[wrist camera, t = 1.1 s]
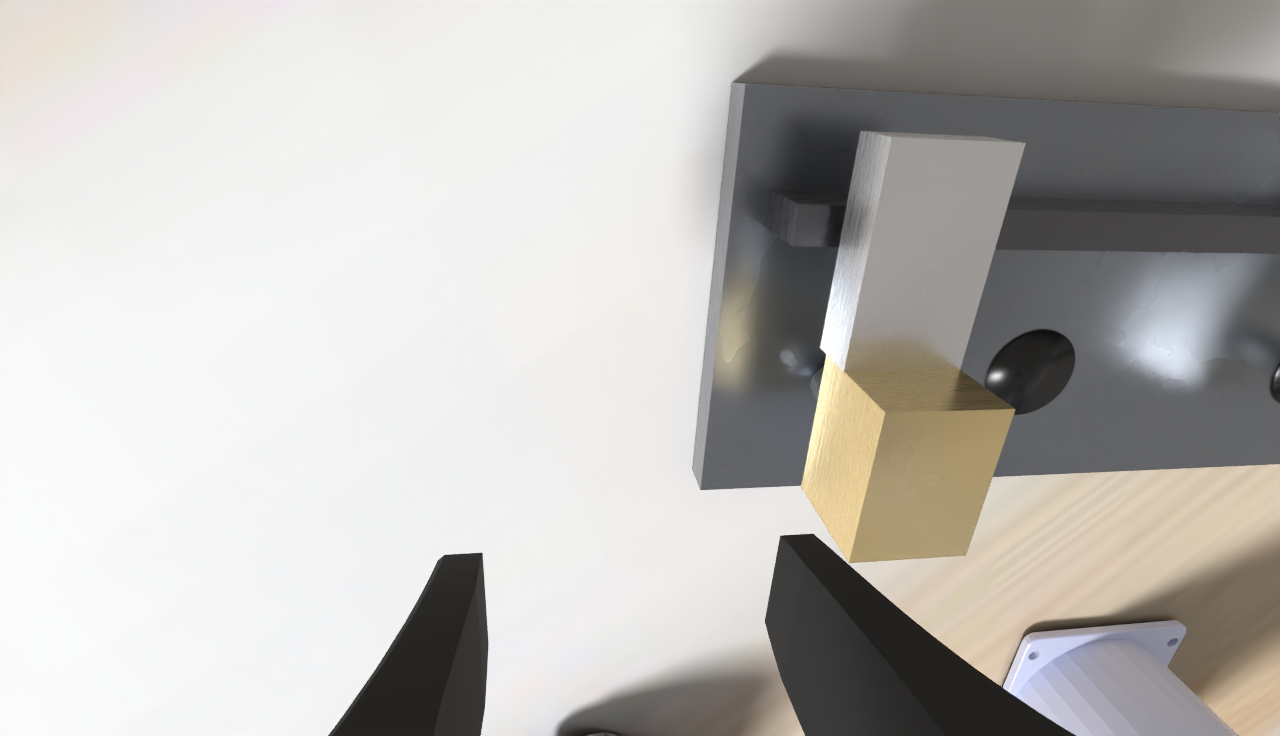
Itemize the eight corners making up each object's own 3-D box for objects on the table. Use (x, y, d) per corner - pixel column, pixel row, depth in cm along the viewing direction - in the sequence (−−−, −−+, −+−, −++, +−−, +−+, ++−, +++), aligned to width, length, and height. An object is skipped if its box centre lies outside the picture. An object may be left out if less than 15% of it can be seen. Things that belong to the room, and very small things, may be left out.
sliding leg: (863, 438, 20) (965, 555, 15) (772, 441, 20) (848, 563, 15) (934, 128, 16) (1102, 155, 11) (823, 123, 16) (949, 148, 11)
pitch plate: (1302, 444, 26) (1551, 567, 19) (692, 469, 22) (755, 632, 15) (1485, 124, 20) (1902, 150, 14) (732, 82, 17) (849, 92, 10)
